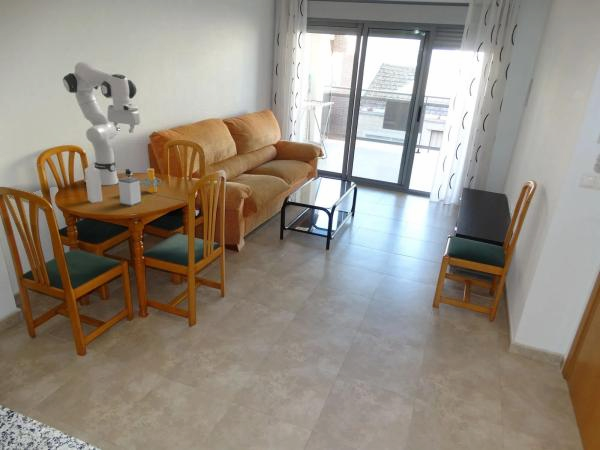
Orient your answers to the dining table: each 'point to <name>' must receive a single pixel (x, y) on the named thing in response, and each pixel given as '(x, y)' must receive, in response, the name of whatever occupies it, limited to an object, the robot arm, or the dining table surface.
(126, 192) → the white box with knob
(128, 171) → the plunger
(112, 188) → the dining table surface
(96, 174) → the milk
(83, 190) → the dining table surface
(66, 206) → the dining table surface
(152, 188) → the yellow and blue toy
